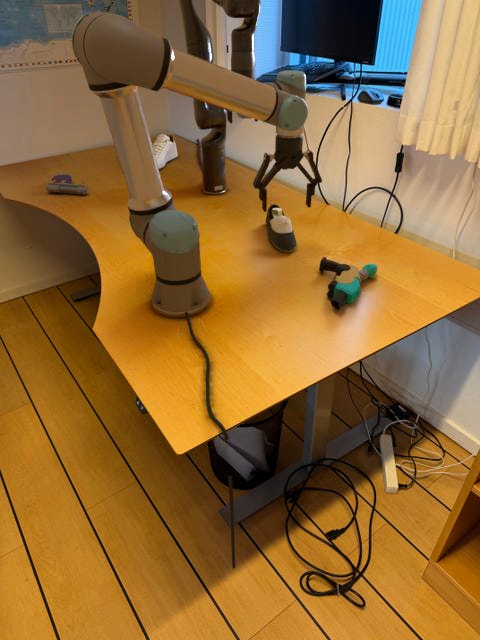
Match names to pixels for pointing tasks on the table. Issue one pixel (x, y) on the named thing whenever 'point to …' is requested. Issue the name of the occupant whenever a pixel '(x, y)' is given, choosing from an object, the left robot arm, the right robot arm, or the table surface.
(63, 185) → the toy gun
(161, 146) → the sneaker
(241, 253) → the table surface
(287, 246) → the ballet flat
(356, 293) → the toy gun
